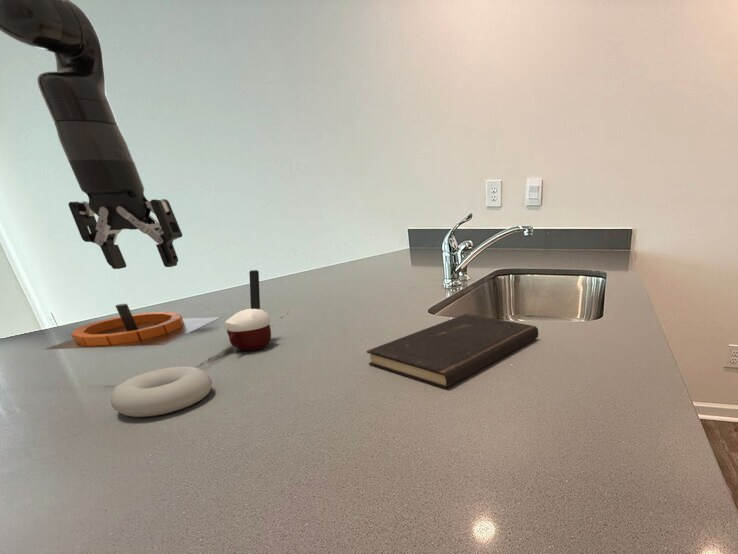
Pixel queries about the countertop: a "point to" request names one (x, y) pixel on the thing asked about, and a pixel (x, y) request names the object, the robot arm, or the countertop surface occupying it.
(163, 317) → the ring
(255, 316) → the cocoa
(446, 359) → the hardcover book
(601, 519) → the countertop surface
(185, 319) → the post board
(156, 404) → the donut
